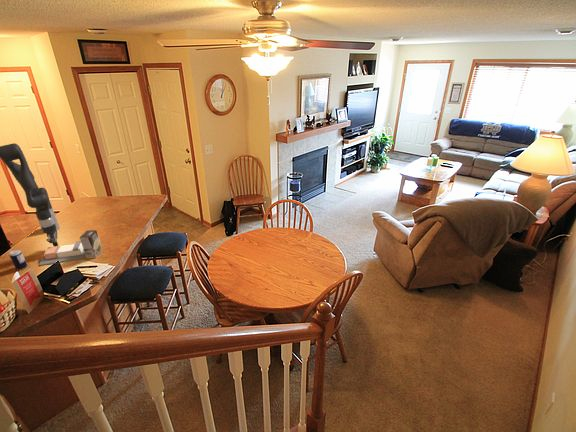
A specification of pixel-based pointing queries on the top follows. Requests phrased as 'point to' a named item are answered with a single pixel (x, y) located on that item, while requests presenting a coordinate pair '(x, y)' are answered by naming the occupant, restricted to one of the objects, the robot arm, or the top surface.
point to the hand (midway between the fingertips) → (56, 246)
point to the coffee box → (91, 244)
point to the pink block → (51, 252)
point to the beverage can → (18, 259)
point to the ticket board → (64, 259)
